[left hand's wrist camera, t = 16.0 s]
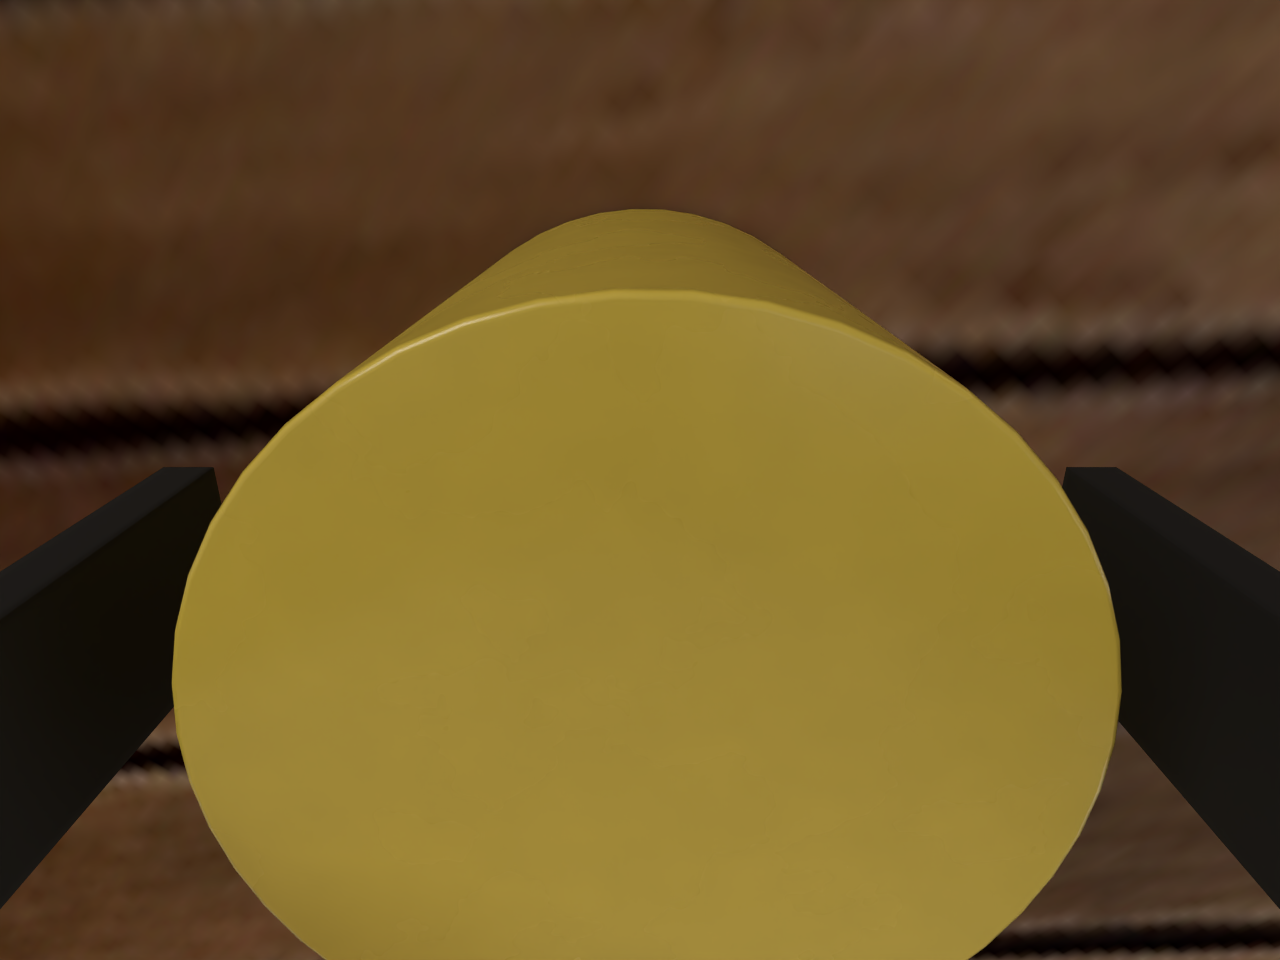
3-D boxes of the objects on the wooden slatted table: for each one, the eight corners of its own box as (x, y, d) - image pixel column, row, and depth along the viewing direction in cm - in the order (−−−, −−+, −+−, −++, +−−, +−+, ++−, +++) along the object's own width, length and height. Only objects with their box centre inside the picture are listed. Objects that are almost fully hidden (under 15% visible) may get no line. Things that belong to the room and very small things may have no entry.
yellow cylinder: (901, 228, 15) (1279, 335, 6) (823, 635, 19) (993, 1083, 10) (418, 189, 15) (81, 244, 6) (431, 610, 18) (230, 1044, 9)
